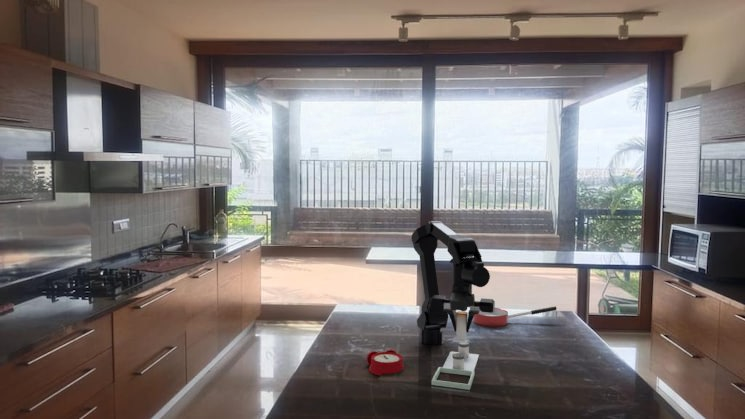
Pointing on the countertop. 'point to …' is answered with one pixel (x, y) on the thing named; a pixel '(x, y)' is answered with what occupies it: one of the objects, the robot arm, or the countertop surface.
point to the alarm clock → (384, 362)
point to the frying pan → (502, 316)
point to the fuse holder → (462, 358)
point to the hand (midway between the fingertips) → (461, 331)
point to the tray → (453, 384)
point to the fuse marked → (461, 325)
